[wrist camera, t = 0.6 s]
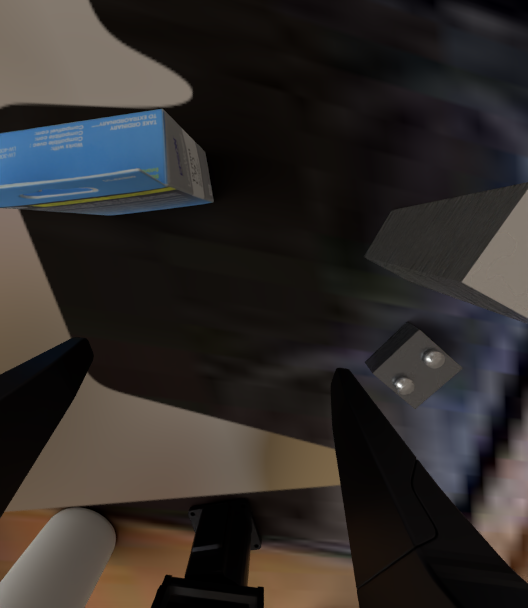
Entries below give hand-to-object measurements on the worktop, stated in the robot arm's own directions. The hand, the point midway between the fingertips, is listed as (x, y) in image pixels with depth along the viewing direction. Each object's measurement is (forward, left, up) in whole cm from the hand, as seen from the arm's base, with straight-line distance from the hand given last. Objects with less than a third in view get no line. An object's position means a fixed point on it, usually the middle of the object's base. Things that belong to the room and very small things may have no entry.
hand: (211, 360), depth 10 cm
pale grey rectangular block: (0, -13, -14) cm, 19 cm away
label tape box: (+9, +5, -14) cm, 18 cm away
